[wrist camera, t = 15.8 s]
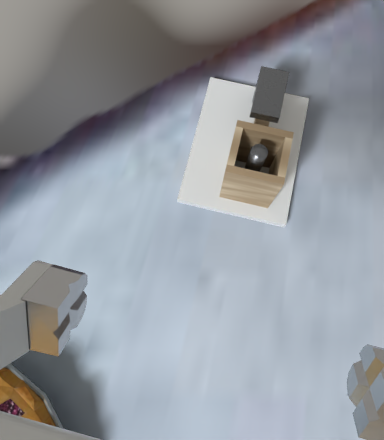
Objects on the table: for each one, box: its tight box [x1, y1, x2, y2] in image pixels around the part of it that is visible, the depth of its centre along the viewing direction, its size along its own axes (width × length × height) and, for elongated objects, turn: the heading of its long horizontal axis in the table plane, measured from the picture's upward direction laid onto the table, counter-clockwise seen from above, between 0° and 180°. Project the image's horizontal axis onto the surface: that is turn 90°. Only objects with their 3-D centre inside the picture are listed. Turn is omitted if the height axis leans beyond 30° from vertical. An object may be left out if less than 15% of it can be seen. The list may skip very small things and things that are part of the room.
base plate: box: [177, 78, 309, 227], centre depth 42 cm, size 16×12×1 cm
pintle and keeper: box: [245, 66, 289, 172], centre depth 38 cm, size 12×3×8 cm, turn 166°
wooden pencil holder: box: [219, 118, 294, 208], centre depth 37 cm, size 10×5×7 cm, turn 166°
